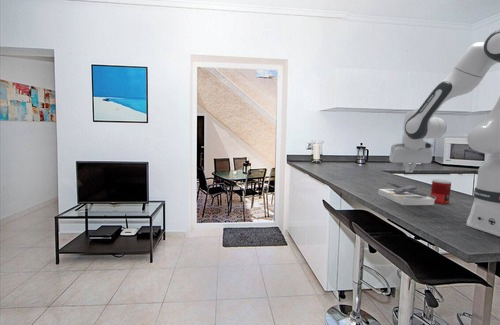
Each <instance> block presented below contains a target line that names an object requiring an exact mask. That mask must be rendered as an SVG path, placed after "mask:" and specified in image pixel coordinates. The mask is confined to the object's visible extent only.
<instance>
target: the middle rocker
mask: <svg viewBox="0 0 500 325" xmlns="http://www.w3.org/2000/svg"><path fill="white" fill-rule="evenodd" d="M400 187H401V188H393V189H394V190H393V192H395V193H398V194H400V193H404V192H406V191H403V188H405V189H409V190H412V191H416V190H417V186H415V185H411V184H410V185H407V186H400Z"/></svg>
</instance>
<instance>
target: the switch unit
mask: <svg viewBox="0 0 500 325" xmlns="http://www.w3.org/2000/svg"><path fill="white" fill-rule="evenodd" d="M394 189H395V188H378V189H377V190H378V191H377V194H378V195H379V196H381V197H383V198H386V199H387V200H391V201H393V202H395V203H397V204H399V205H402V206H434V205H435V203H434V200H435V199H433V198H431V196H430V197H429V196H428V195H427V196H426V197H424V196H420V195H416V194H412V193H408V192H404V193H400V194H398V193H395V192H393V190H394Z"/></svg>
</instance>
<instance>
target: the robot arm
mask: <svg viewBox="0 0 500 325" xmlns="http://www.w3.org/2000/svg"><path fill="white" fill-rule="evenodd" d="M499 63H500V29H497V30H495V31H494V32H492V33H491V34H489V35H488V37H487V38H486V39H485V41H477V42H474V43H472V44H471V45H470V46H469V47H468V48H467V49H465V51H464V52H463V53H462V55H461V56H460V57H459V59H458V60H457V61H456V63H455V65H454V67H453V68H452V69H451V71H450V72H449V73H448V74H447V75H446V77H445V78H444V79H443V80H442V81H441V82H440V83H439V84H437V86H436V87H435V88H434V89H433V90H432V91H431V92H430V93H429V95H428V96H427V97H426V98H425V100H424V101H423V103H422V104H421V106H420V107H419V108H418V109H413V110H409V111H407V112H406V114H405V116H404V122H403V135H402V138H401V143H394V144H393V145H391V147H390V153H389V156H388V157H389V162H390V163H393V164H403V166H404V168H405V170H404V171H405V173H413V172H414V169H415V168H416V166H417V164H431V163H432V161H433V147H434V145H433V143H431V142H428V141H425V140H424V139H439V138H441V137H442V136H444V135H445V133H446V131H447V122H446V121H445V119H443V118H441V117H437V116H435V114H436V113H437V112H438V110H439V109H441V107H442V105H444V104H445V103H446V102H447V101H450V100H451V99H453V98H457V97H458V96H463V95H466V94H469V93H470V92H472V91H474V90H475V88H476V87H478V86H479V85H480V83H481V81H482V80H483V79H484V77H485V76H486V75H487V73H488V72H489V71H490V69H491V68H492V67H493V66H494V65H496V64H499ZM466 141H467V144H468V146H469V148H470V149H471V150H473V151H475V152H478V153H483V154H486V155H487V154H488V157H487V159H486V160H485V161H484V163H483V164H481V165H480V166H479V168H478V170H477V178H476V185H475V186H476V187H474V191H473V197H474V199H473V203H472V205H471V209H470V212H469V215H468V218H467V219H466V224H465V225H466V226H467V227H470V228H473V229H475V230H479V231H481V232H486V233H488V234H491V235H494V236H496V237H500V96H499V97H498V99H497V102H496V103H495V105H494V107H493V108H492V109H491V111H490V112H489V113H488V115H487V116H486V117H485V118H484V120H482V121H481V122H480V123H479V124H478V125H476V126H475V127H473V128H472V129H471V130H470V131H469V132H468V134H467V137H466ZM409 165H411V166H410V167H409Z"/></svg>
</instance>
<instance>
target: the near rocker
mask: <svg viewBox="0 0 500 325" xmlns="http://www.w3.org/2000/svg"><path fill="white" fill-rule="evenodd" d="M403 191H406V192H408V193H412V194H416V195H420V196H424V197H426V196H427V197H428V194H425V193H424V192H420V191H416V190H409V189H405V188H403Z"/></svg>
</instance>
